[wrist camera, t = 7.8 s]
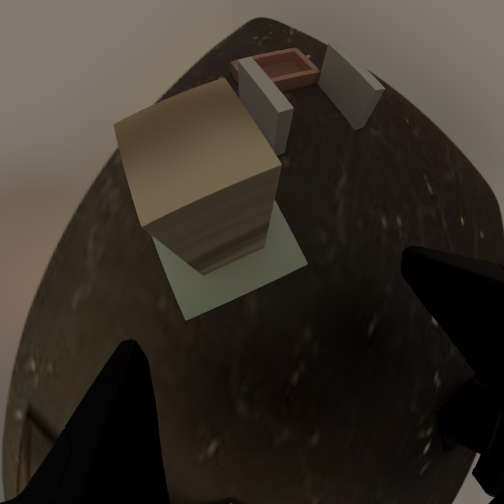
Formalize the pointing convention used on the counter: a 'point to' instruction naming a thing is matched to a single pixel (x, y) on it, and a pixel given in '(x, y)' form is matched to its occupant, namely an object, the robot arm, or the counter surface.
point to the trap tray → (285, 69)
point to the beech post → (201, 175)
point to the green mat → (233, 270)
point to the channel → (330, 81)
